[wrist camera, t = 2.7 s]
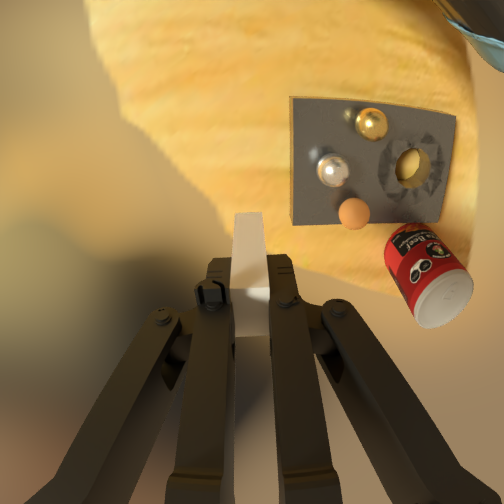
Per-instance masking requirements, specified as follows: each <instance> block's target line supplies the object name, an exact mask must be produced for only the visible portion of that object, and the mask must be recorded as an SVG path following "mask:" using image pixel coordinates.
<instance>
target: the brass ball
mask: <svg viewBox="0 0 504 504" xmlns="http://www.w3.org/2000/svg"><path fill="white" fill-rule="evenodd" d="M355 129H356V131H357V133H358V134H359V136H360V137H361V138H363V139H364V140H366V141H369V142H377V141H380V140H382V139H383V138H385V137H386V135H387V133H388V131H389V122H388V119H387V117H386V116H385V114H384V113H383V112H382V111H380V110H378V109H375V108H366V109H363V110H361V111H360V112H359V113H358V114H357V116H356V118H355Z"/></svg>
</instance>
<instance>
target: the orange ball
mask: <svg viewBox="0 0 504 504" xmlns="http://www.w3.org/2000/svg"><path fill="white" fill-rule="evenodd" d="M369 218H370V210H369V207H368V205H367V204H366V203H365V202H364V201H363V200H361V199H359V198H349V199H347V200H345V201H344V202H343V203H342V204H341V206H340V208H339V219H340V221H341V223H342V224H343V225H344V226H345V227H346V228H348V229H351V230H358V229H361V228H363V227H364V226H365V225H366V224H367V223H368V221H369Z"/></svg>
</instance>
